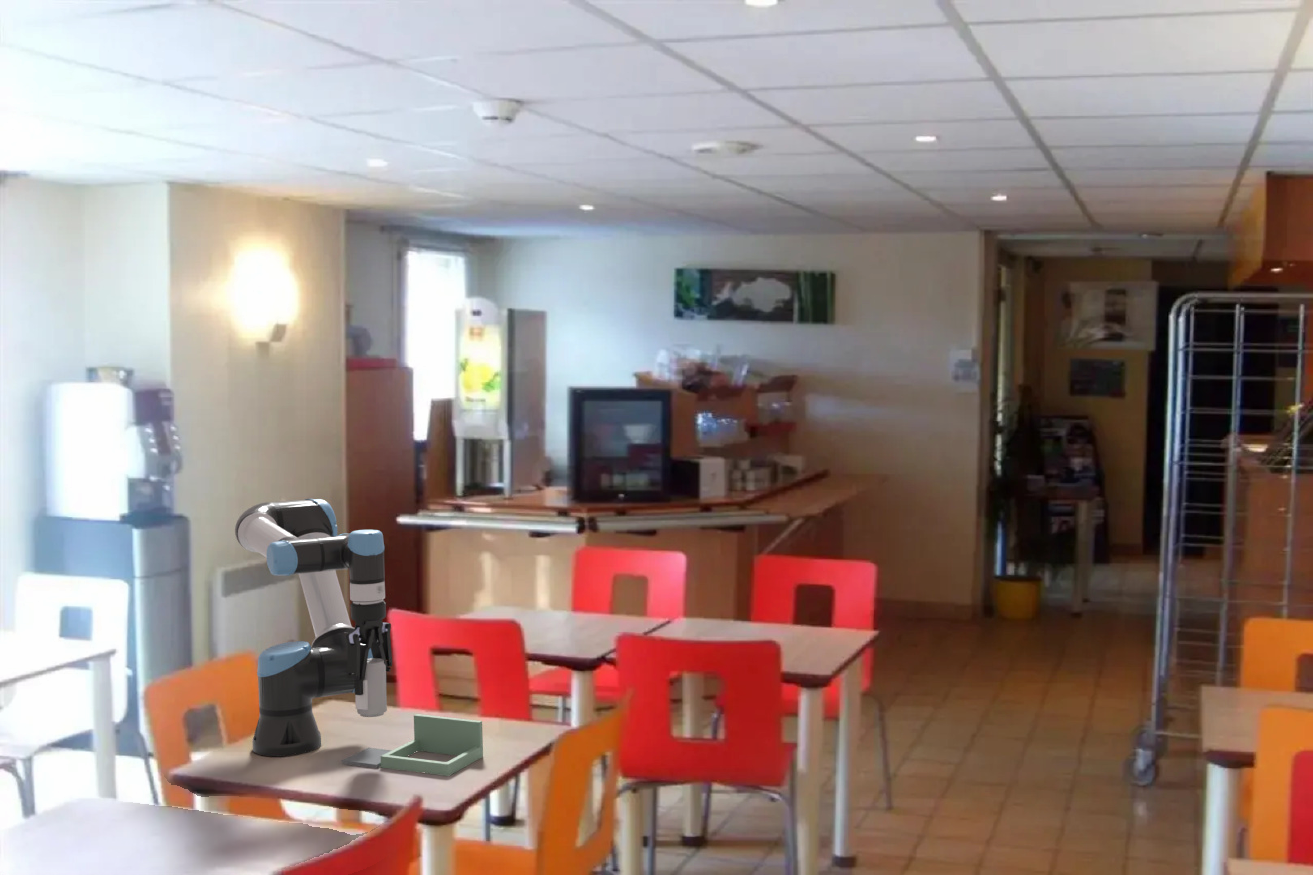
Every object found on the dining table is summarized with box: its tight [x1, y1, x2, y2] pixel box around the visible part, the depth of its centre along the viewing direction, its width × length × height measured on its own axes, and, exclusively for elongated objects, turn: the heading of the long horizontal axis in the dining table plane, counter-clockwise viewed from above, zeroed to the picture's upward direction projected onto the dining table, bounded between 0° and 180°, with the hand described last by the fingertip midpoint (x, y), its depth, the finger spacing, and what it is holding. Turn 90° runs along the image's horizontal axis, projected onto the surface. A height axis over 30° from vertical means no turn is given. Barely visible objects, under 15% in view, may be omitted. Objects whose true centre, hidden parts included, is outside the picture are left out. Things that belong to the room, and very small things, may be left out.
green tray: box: [380, 713, 484, 777], centre depth 295 cm, size 17×14×8 cm
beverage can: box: [356, 658, 388, 718], centre depth 296 cm, size 6×6×12 cm
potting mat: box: [341, 747, 393, 769], centre depth 298 cm, size 9×10×1 cm
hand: (371, 704), depth 297 cm, fingers closed on beverage can, 6 cm apart
